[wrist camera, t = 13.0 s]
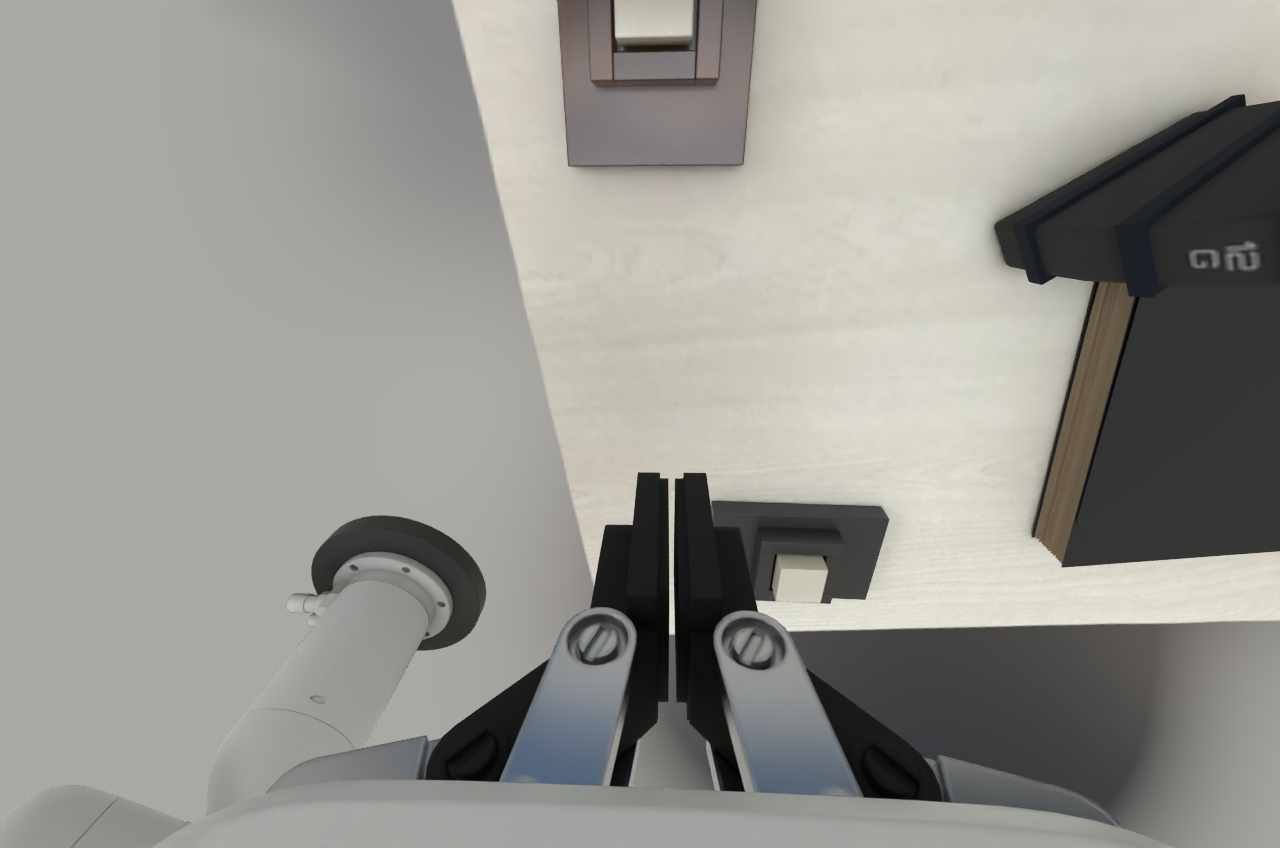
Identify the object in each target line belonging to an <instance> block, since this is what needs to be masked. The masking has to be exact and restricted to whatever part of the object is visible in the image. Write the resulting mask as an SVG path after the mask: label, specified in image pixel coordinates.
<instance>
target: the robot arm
mask: <svg viewBox="0 0 1280 848" xmlns="http://www.w3.org/2000/svg"><path fill="white" fill-rule="evenodd" d="M674 602H675V648H676V649H675V650H676V698H677V702H684V703H685V702H686V703H687V720H689V721H690V724H691V725H692V726H693V727H694V728H695V729H696V730H697V731H698V732H699V733H700V734H701V735H702V736H703V737H704V738H705V739H706V748H707V755H708V759H709V764H710V769H711V773H712V778H713V783H714V787H715V791H710V790H687V789H686V790H685V789H664V788H638V787H632V786H633V781H634V776H635V771H636V765H637V760H638V754H639V750H640V738H641V737H642V736H643V735H644V734H645V733H646V732H647V731H648V730H649V729H650V728H651V727H653V726H654V725H655V724H656V723H657V719H658V702H668V670H669V666H668V665H669V508H668V479H663V478H660V473H640V472H638V477H637V488H636V498H635V509H634V519H633V525H606V526H605V529H604V535H603V540H602V546H601V552H600V557H599V563H598V569H597V574H596V580H595V586H594V591H593V597H592V603H591V608H590V609H587V610H584V611H582V612H580V613H578V614H576V615H574V616H573V617H572V618H571V619H570V620H569V621H568V622H567V623H566V624H565V626H564V627H563V629H562V631H561V633H560V635H559V638H558V640H557V642H556V645H555V647H554V649H553V652H552V654H551V657H550V658H549V659H548V660H547V661H545V662H544V663H542V664H541V665H540V666H538V667H537V668H535V669H534V670H533V671H531V672H530V673H528V674H527V675H526V676H524V677H523V678H521V679H520V680H519V681H517V682H516V683H515V684H513V685H512V686H511V687H509V688H508V689H506V690H505V691H503V692H502V693H500V694H499V695H498V696H496V697H495V698H493V699H492V700H490V701H489V702H488V703H486V704H485V705H483V706H482V707H481V708H479V709H478V710H476V711H475V712H474V713H472V714H471V715H469V716H468V717H467V718H465V719H464V720H462V721H461V722H460V723H458V724H457V725H455V726H454V727H453V728H452V729H451V730H450V731H449V732H447V733H446V734H445V735H444V736H443V737H442V738H441V739H437V740H432V741H428V738H427V736H421V737H416V738H411V739H406V740H401V741H396V742H391V743H387V744H381V745H376V746H371V747H366V748H364V747H365V745H366V743H367V741H368V739H369V737H370V736H371V734H372V732H373V730H374V728H375V726H376V725H377V723H378V721H379V719H380V717H381V715H382V713H383V712H384V710H385V708H386V706H387V704H388V702H389V700H390V699H391V697H392V695H393V693H394V691H395V689H396V687H397V686H398V684H399V682H400V680H401V678H402V676H403V674H404V672H405V671H406V669H407V667H408V665H409V663H410V661H411V659H412V657H413V656H414V654H415V652H416V650H417V648H418V646H419V645H420V643H421V641H422V640H424V639H427V638H430V637H433V636H434V635H436V634H438V633H440V632H441V631H442V630H443V629H444V628H445V626H446V624H447V623H448V621H449V619H450V617H451V614H452V611H453V601H452V596H451V594H450V592H449V590H448V588H447V586H446V585H445V583H444V582H443V581H442V579H441V578H440V577H439V576H438V575H437V574H436V573H435V572H433V571H432V570H431V569H429V568H428V567H427V566H425V565H423V564H421V563H420V562H418V561H416V560H414V559H411V558H409V557H406V556H403V555H399V554H395V553H390V552H367V553H362V554H359V555H356V556H354V557H352V558H350V559H349V560H348V561H346V562H345V563H344V564H343V566H342V567H341V568H340V569H339V570H338V571H337V573H336V575H335V577H334V581H333V590H332V591H325V592H323V593H321V594H320V595H315V594H310V593H294V594H292V595H291V596H290V597H289V599H288V601H287V610H288V611H289V612H293V613H310V612H314V613H313V614H311V615H310V617H309V619H308V625H309V626H310V627H313V628H312V629H311V630H310V632H309V633H308V634H307V635H306V637H305V638H304V639H303V640H302V642H301V643H300V644H299V645H298V647H297V648H296V650H294V652H293V653H292V654H291V656H290V657H289V658H288V659H287V661H286V662H285V663H284V665H283V666H282V667H281V668H280V669H279V671H278V672H277V674H276V675H275V676H274V677H273V678H272V680H271V681H270V682H269V683H268V685H267V686H266V687H265V688H264V690H263V691H262V692H261V693H260V695H259V696H258V697H257V699H256V700H255V701H254V702H253V704H252V705H251V706H250V707H249V709H248V710H247V711H246V712H245V714H244V715H243V716H242V717H241V719H240V720H239V721H238V722H237V724H236V725H235V726H234V727H233V729H232V730H231V732H230V733H229V734H228V735H227V737H226V738H225V740H224V741H223V743H222V745H221V746H220V749H219V750H218V752H217V754H216V757H215V759H214V762H213V765H212V768H211V773H210V777H209V783H208V793H207V810H206V817H204V818H202V819H199V820H197V821H195V822H193V823H191V822H188V821H187V822H184V821H182V820H179V819H176V818H174V817H171V816H169V815H166V814H164V813H161V812H159V811H156V810H153V809H151V808H148V807H146V806H143V805H140V804H138V803H135V802H133V801H130V800H127V799H125V798H122V797H118V796H115V795H113V794H110V793H107V792H104V791H101V790H98V789H94V788H91V787H86V786H80V785H64V786H58V787H54V788H50V789H48V790H44V791H42V792H39V793H37V794H36V795H33V796H31V797H30V798H28V799H26V800H24V801H23V802H21V803H20V804H18V805H17V806H15V807H14V808H12V809H11V810H10V811H8V812H7V813H5V814H4V815H3V816H2V817H1V818H0V848H1174V847H1171V846H1169V845H1166V844H1164V843H1162V842H1159V841H1156V840H1154V839H1151V838H1148V837H1146V836H1143V835H1140V834H1137V833H1134V832H1131V831H1129V830H1126V829H1125V828H1124V827H1123V826H1122V825H1121V824H1120V823H1119V822H1118V821H1117V820H1116V819H1115V818H1114V817H1113V816H1112V815H1111V814H1110V813H1109V812H1108V811H1107V810H1106V809H1104V808H1103V807H1101V806H1100V805H1098V804H1097V803H1095V802H1094V801H1093V800H1091V799H1090V798H1088V797H1086V796H1084V795H1081V794H1079V793H1077V792H1074V791H1072V790H1069V789H1067V788H1063V787H1059V786H1055V785H1052V784H1048V783H1044V782H1040V781H1036V780H1033V779H1029V778H1025V777H1021V776H1017V775H1013V774H1010V773H1006V772H1002V771H998V770H995V769H990V768H986V767H983V766H979V765H975V764H972V763H968V762H964V761H960V760H957V759H953V758H949V757H945V756H941V755H939V756H938V758H937V760H936V761H935V760H931V759H927V758H924V757H923V756H922V755H921V754H920V753H919V752H918V751H916V750H915V749H914V748H913V747H912V746H911V745H910V744H909V743H907V742H906V741H905V740H903V739H902V738H901V737H899V736H898V735H897V734H895V733H894V732H892V731H891V730H890V729H888V728H887V727H886V726H884V725H883V724H882V723H880V722H879V721H877V720H876V719H875V718H873V717H872V716H871V715H869V714H868V713H866V712H865V711H864V710H862V709H861V708H860V707H858V706H857V705H855V704H854V703H853V702H851V701H850V700H849V699H847V698H846V697H845V696H843V695H842V694H840V693H839V692H838V691H836V690H835V689H834V688H832V687H831V686H830V685H828V684H827V683H825V682H824V681H823V680H821V679H820V678H818V677H817V676H816V675H815V674H813V673H812V672H810V671H809V670H808V669H806V668H805V667H804V664H803V662H802V660H801V658H800V655H799V653H798V651H797V649H796V646H795V644H794V642H793V640H792V638H791V636H790V635H789V633H788V632H787V630H786V628H785V627H783V626H782V625H781V624H780V623H779V622H778V621H777V620H775V619H773V618H772V617H770V616H768V615H766V614H763V613H759V612H758V610H757V605H756V601H755V596H754V591H753V587H752V582H751V577H750V573H749V568H748V563H747V559H746V554H745V549H744V545H743V540H742V535H741V531H740V528H739V527H734V526H713V520H712V513H711V506H710V498H709V491H708V484H707V477H706V473H684V477H683V479H675V523H674Z"/></svg>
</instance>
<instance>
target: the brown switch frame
mask: <svg viewBox="0 0 1280 848" xmlns="http://www.w3.org/2000/svg"><path fill="white" fill-rule="evenodd" d="M557 2H558V17H559V32H560V47H561V63H562V78H563V93H564V108H565V124H566V139H567V154H568V166H572V167H610V166H740V165H743V162H744V150H745V138H746V126H747V114H748V102H749V90H750V78H751V66H752V54H753V43H754V31H755V19H756V7H757V0H694V11H693V35H692V43H691V44H690V45H662V46H619V45H618V42H617V40H616V38H615V18H614V0H557Z"/></svg>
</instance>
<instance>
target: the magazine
mask: <svg viewBox="0 0 1280 848" xmlns="http://www.w3.org/2000/svg"><path fill="white" fill-rule="evenodd" d="M995 230H996V233H997V236H998V239H999V243H1000V246H1001V249H1002V252H1003V255H1004V259H1005V262H1006V264H1007V265H1008V266H1011V267H1015V268H1020V269H1024V270H1026V273H1027V277H1028V280H1029V282H1032V283H1036V284H1040V285H1042V284H1044V283H1046V282H1048V281H1049V280H1051V279H1053V278H1055V277H1056V276H1059V277H1065V278H1071V279H1077V280H1083V281H1097V282H1112V283H1126V285H1127V290H1128V295H1129V296H1130V297H1147V298H1153V297H1155V296H1156V295H1157V294H1159V293H1160V292H1161V291H1163V290H1164V289H1165V288H1167V287H1168V286H1169V285H1175V286H1199V287H1247V286H1278V285H1280V101H1275V102H1269V103H1263V104H1257V105H1250V106H1246V101H1245V95H1244V94H1243V95H1235V96H1231V97H1229V98H1228V99H1226V100H1224V101H1223V102H1221V103H1219V104H1218V105H1216V106H1214V107H1212V108H1211V109H1209V110H1207V111H1204V112H1197V113H1194V114H1192V115H1190V116H1189V117H1187V118H1185V119H1183V120H1181V121H1180V122H1178V123H1176V124H1174V125H1172V126H1171V127H1169V128H1167V129H1165V130H1163V131H1162V132H1160V133H1158V134H1156V135H1154V136H1153V137H1151V138H1149V139H1147V140H1145V141H1144V142H1142V143H1140V144H1138V145H1136V146H1135V147H1133V148H1131V149H1129V150H1127V151H1126V152H1124V153H1122V154H1120V155H1118V156H1117V157H1115V158H1113V159H1111V160H1109V161H1108V162H1106V163H1104V164H1102V165H1100V166H1099V167H1097V168H1095V169H1093V170H1091V171H1090V172H1088V173H1086V174H1084V175H1082V176H1081V177H1079V178H1077V179H1075V180H1073V181H1072V182H1070V183H1068V184H1066V185H1064V186H1063V187H1061V188H1059V189H1057V190H1055V191H1054V192H1052V193H1050V194H1048V195H1046V196H1045V197H1043V198H1041V199H1039V200H1037V201H1036V202H1034V203H1032V204H1030V205H1028V206H1027V207H1025V208H1023V209H1021V210H1019V211H1018V212H1016V213H1014V214H1012V215H1010V216H1009V217H1007V218H1005V219H1003V220H1001V221H1000V222H998V223H997V224H996V225H995Z"/></svg>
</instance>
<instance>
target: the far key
mask: <svg viewBox="0 0 1280 848" xmlns="http://www.w3.org/2000/svg"><path fill="white" fill-rule="evenodd" d="M827 573H828V569H827V566H826V564H825V561H824V559H823V556H821V555H795V554H777V557H776V563H775V569H774V575H773V581H772V589H773V593H774V597H775V601H777V602H799V603H821V599H822V594H823V590H824V586H825V582H826V578H827Z"/></svg>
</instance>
